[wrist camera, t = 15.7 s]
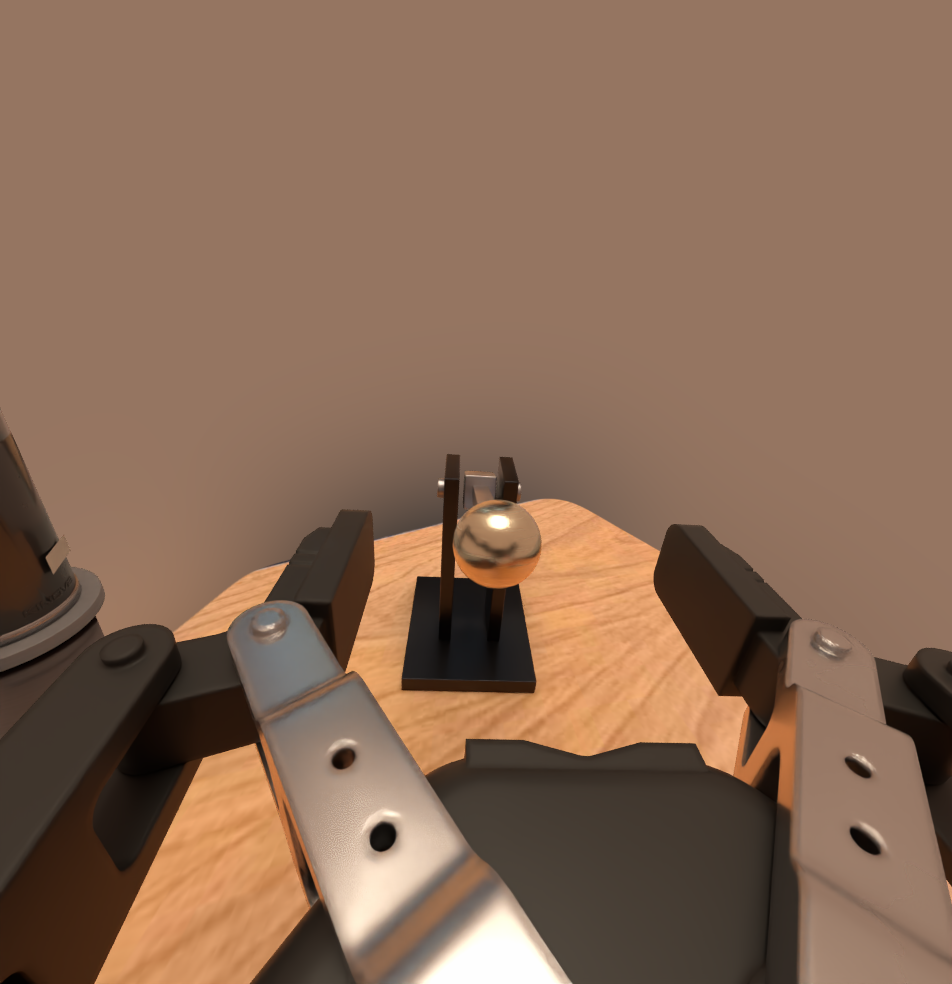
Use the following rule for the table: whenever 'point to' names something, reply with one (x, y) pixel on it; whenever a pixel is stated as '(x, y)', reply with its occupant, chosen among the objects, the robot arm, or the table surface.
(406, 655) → the bracket
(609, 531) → the table surface
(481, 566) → the lever
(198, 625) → the table surface
